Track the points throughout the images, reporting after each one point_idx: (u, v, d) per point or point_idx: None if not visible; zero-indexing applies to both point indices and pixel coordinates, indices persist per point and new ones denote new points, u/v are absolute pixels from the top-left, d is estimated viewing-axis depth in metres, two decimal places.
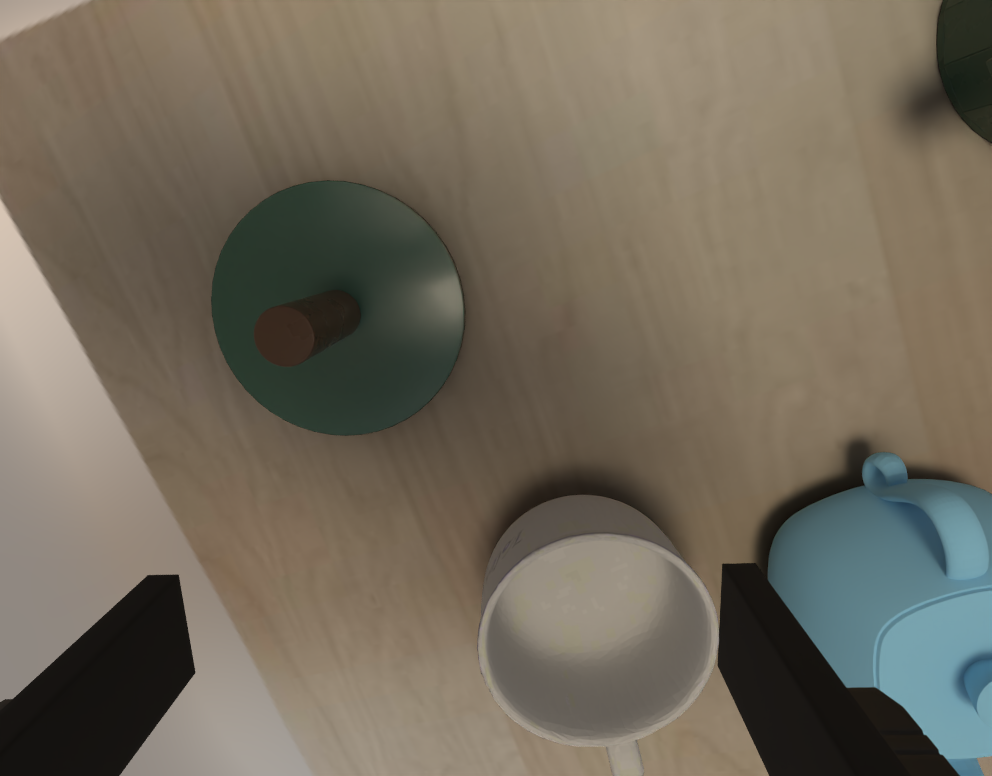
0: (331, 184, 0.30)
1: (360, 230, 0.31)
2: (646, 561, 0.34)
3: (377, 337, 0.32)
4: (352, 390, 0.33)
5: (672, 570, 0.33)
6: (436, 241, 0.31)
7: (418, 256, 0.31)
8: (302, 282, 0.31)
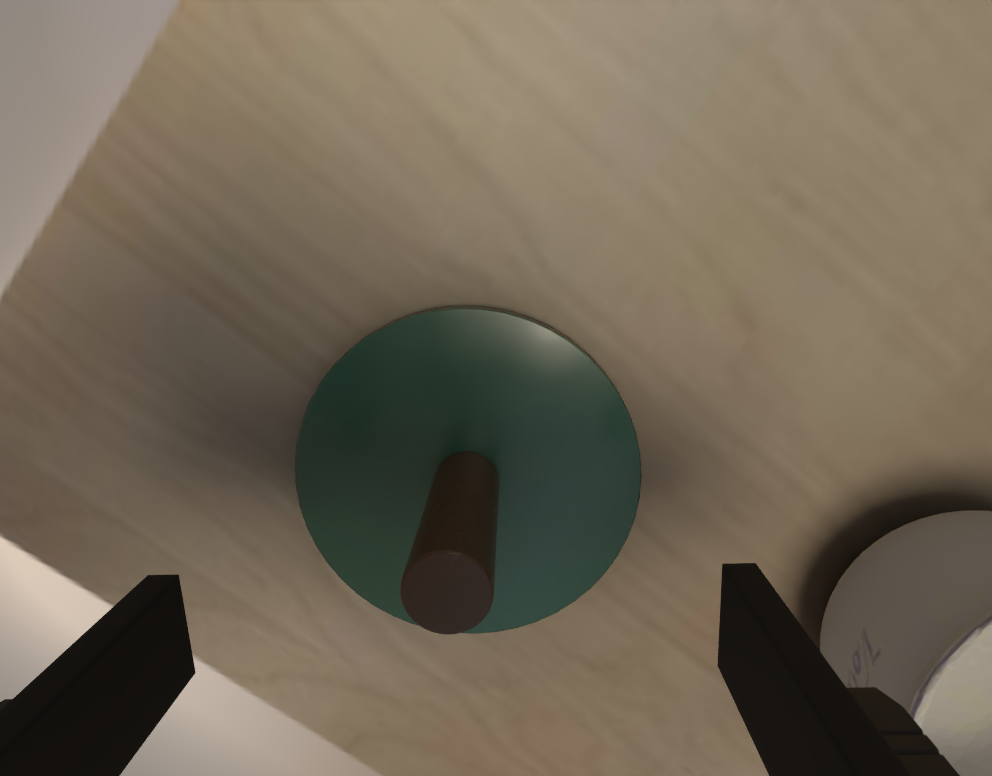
0: (375, 337, 0.22)
1: (439, 370, 0.22)
2: None
3: (529, 481, 0.23)
4: (534, 558, 0.24)
5: None
6: (537, 329, 0.22)
7: (525, 360, 0.22)
8: (406, 468, 0.23)
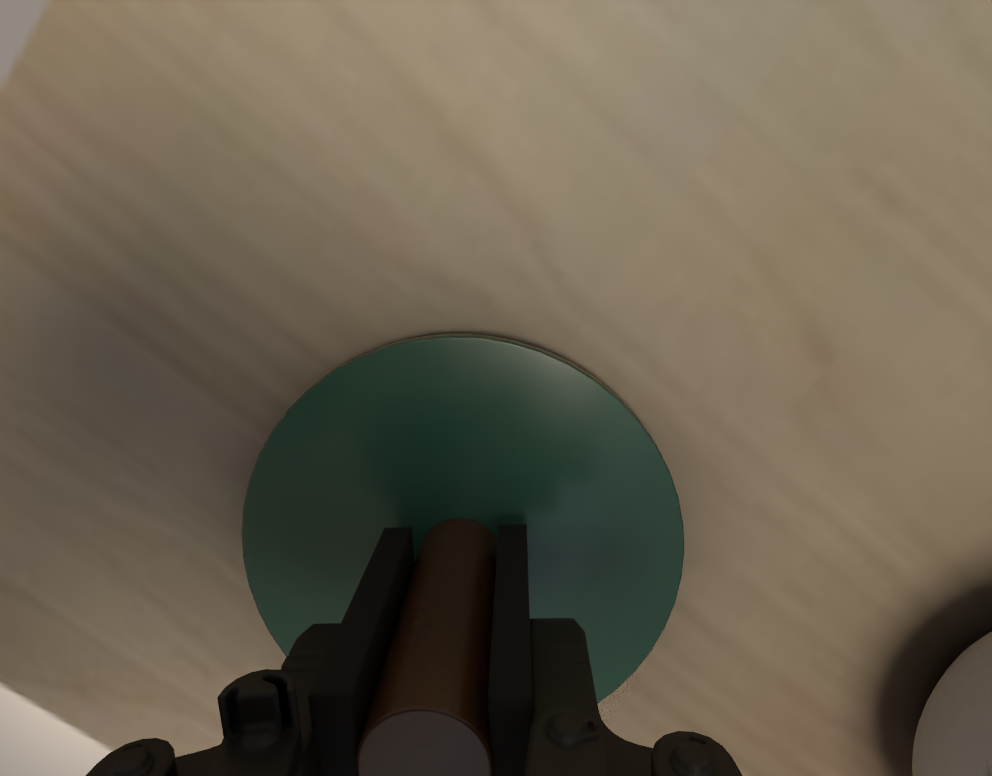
0: (341, 374, 0.17)
1: (424, 415, 0.17)
2: None
3: (540, 556, 0.18)
4: None
5: None
6: (551, 363, 0.17)
7: (535, 403, 0.17)
8: None
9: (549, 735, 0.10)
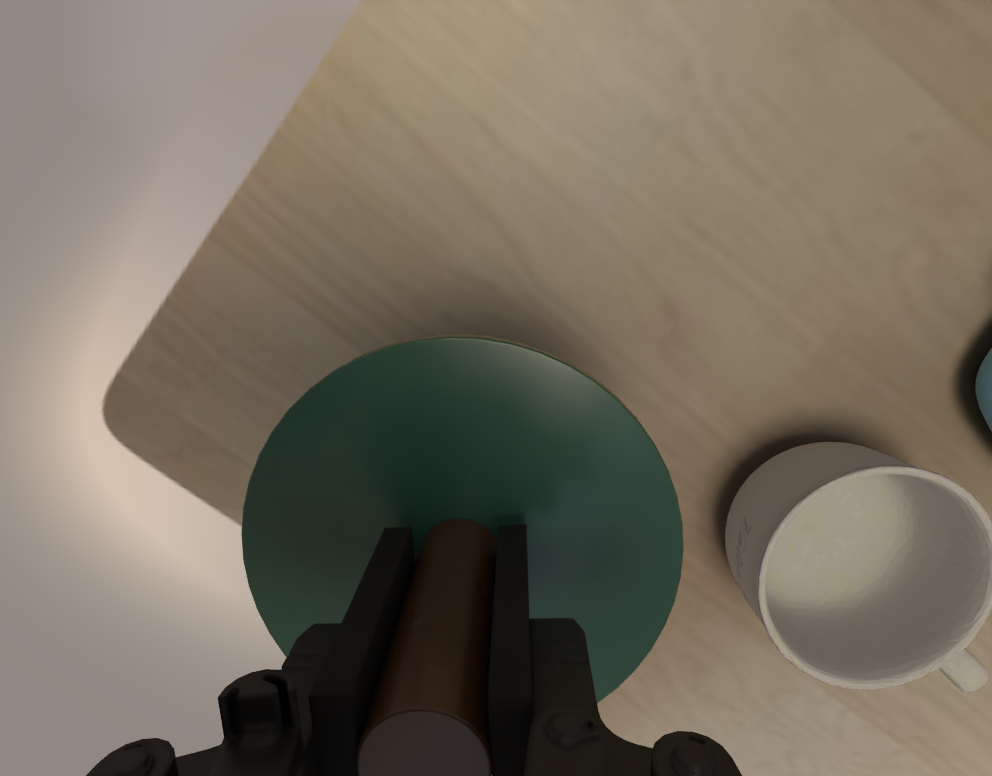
0: (341, 374, 0.17)
1: (424, 416, 0.17)
2: (867, 480, 0.34)
3: (540, 556, 0.18)
4: None
5: (899, 476, 0.32)
6: (550, 364, 0.17)
7: (535, 403, 0.17)
8: None
9: (548, 734, 0.10)
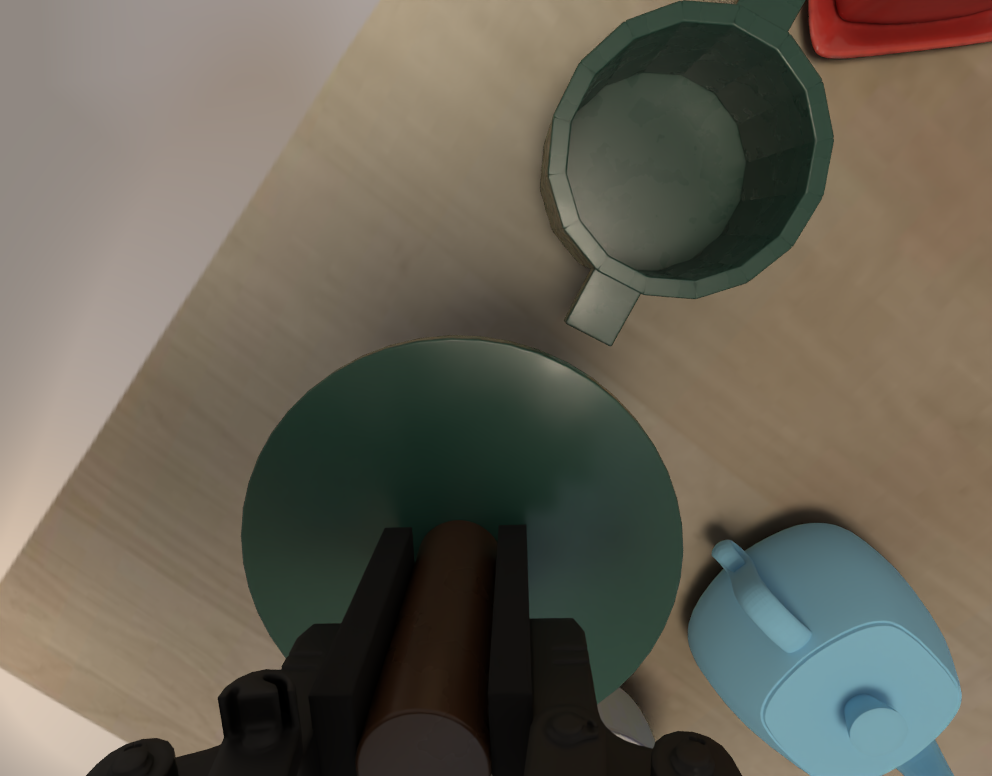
0: (341, 375, 0.17)
1: (423, 417, 0.17)
2: None
3: (539, 557, 0.18)
4: None
5: None
6: (550, 365, 0.17)
7: (534, 404, 0.17)
8: None
9: (549, 735, 0.10)
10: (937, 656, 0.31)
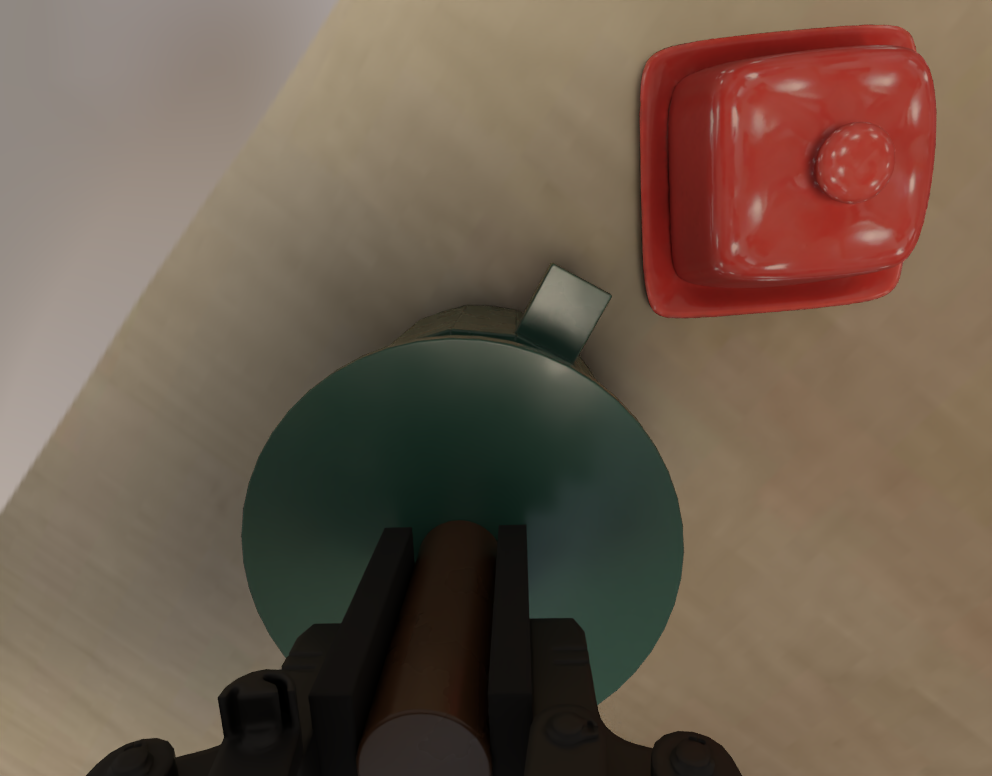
0: (341, 375, 0.17)
1: (424, 417, 0.17)
2: None
3: (540, 558, 0.18)
4: None
5: None
6: (550, 365, 0.17)
7: (535, 404, 0.17)
8: None
9: (548, 735, 0.10)
10: None
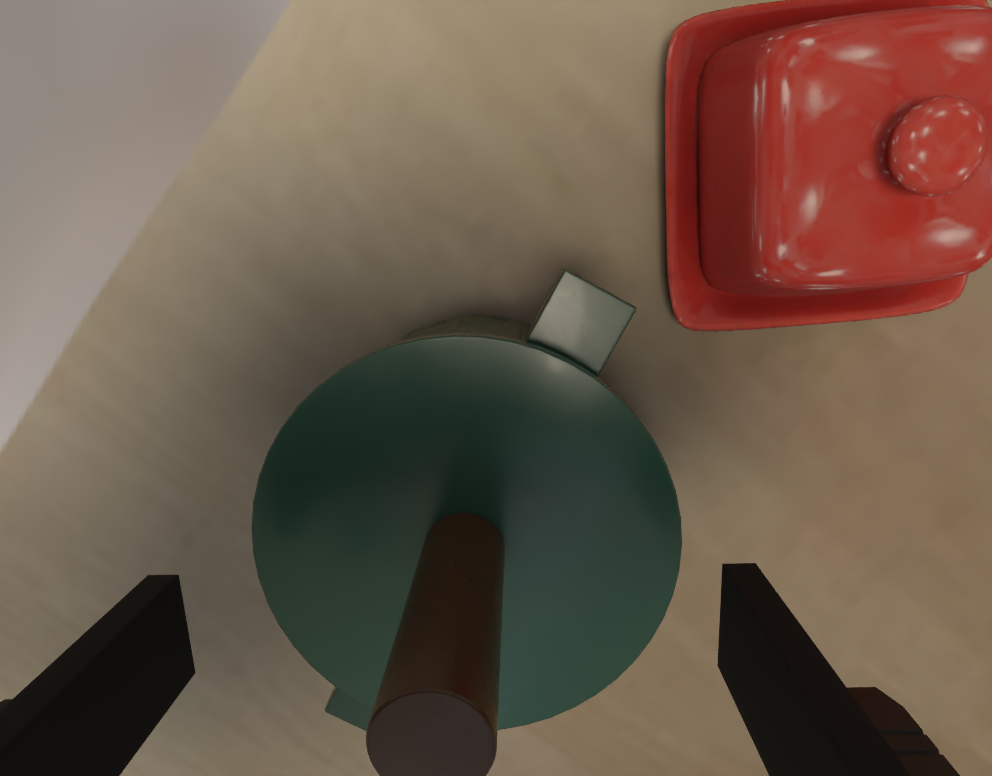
0: (349, 372, 0.18)
1: (429, 412, 0.18)
2: None
3: (542, 549, 0.19)
4: (548, 642, 0.19)
5: None
6: (552, 362, 0.17)
7: (537, 400, 0.18)
8: (389, 533, 0.19)
9: None
10: None
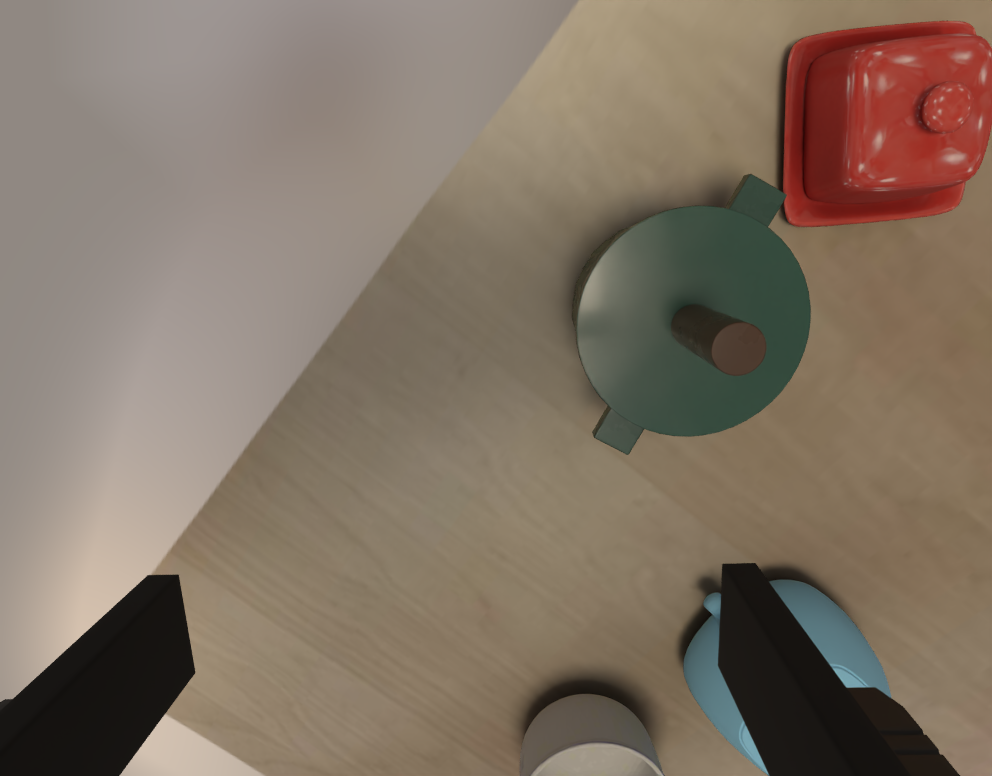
0: (640, 226, 0.34)
1: (680, 248, 0.34)
2: None
3: None
4: (734, 380, 0.36)
5: None
6: (747, 219, 0.34)
7: (738, 240, 0.34)
8: (652, 317, 0.35)
9: None
10: None
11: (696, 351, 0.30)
